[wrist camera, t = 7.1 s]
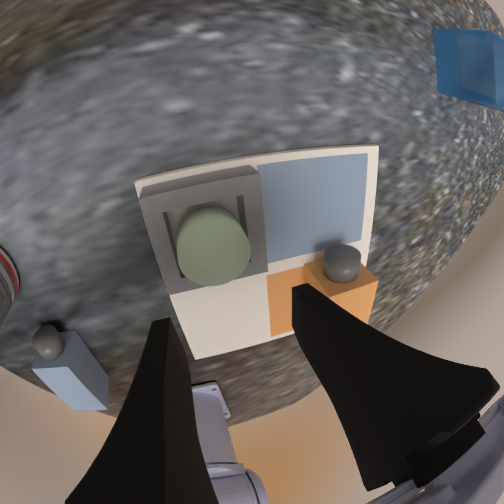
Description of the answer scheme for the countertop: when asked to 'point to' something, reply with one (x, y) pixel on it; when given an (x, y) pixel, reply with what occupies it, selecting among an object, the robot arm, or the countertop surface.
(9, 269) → the pill bottle
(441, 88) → the perfume bottle
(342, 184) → the sheet
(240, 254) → the button
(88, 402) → the grey-capped blue block
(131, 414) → the robot arm
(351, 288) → the orange marker
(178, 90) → the countertop surface
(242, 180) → the button housing
